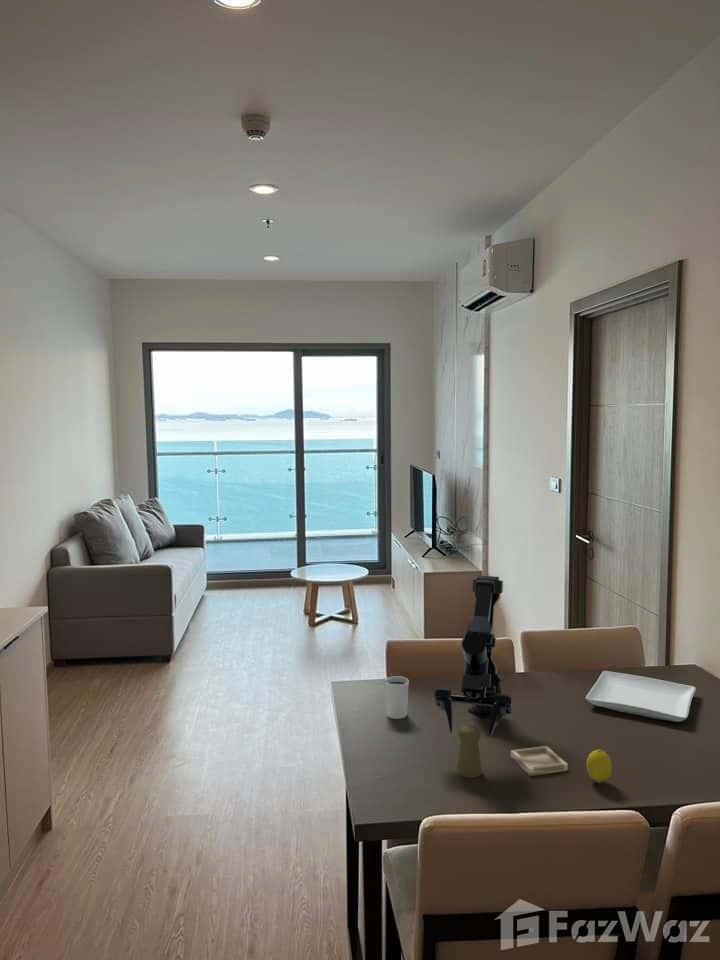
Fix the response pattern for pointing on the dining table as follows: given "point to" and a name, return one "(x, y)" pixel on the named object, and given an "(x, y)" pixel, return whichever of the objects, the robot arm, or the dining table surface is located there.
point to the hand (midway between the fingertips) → (470, 734)
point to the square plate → (642, 696)
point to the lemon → (599, 766)
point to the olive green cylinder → (469, 752)
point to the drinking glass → (396, 697)
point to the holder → (538, 760)
